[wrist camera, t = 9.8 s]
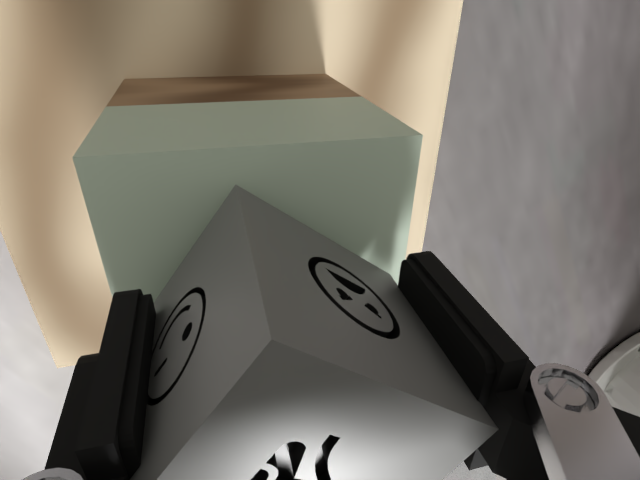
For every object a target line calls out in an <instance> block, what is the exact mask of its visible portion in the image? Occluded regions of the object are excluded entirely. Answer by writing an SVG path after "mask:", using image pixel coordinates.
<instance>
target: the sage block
mask: <svg viewBox="0 0 640 480" xmlns="http://www.w3.org/2000/svg"><path fill="white" fill-rule="evenodd" d="M422 139H423V135H422V134H420V133H419V132H417V131H416V130H414V129H413V128H411V127H409V126H408V125H406V124H405V123H403V122H401V121H400V120H398V119H397V118H395V117H394V116H392V115H390V114H389V113H387V112H386V111H384V110H382V109H381V108H379V107H378V106H376V105H375V104H373V103H371V102H370V101H368V100H367V99H365V98H363V97H362V96H361V97H336V98H311V99H285V100H260V101H234V102H209V103H183V104H158V105H132V106H107V107H105V109H104V110H103V112H102V113H101V115H100V116H99V118H98V119H97V121H96V122H95V124H94V125H93V127H92V128H91V130H90V132H89V133H88V135H87V136H86V138H85V139H84V141H83V142H82V144H81V145H80V147H79V148H78V150H77V151H76V153H75V154H74V156H73V157H72V158H73V162H74V165H75V169H76V172H77V176H78V179H79V183H80V186H81V190H82V193H83V197H84V200H85V204H86V207H87V211H88V214H89V218H90V221H91V225H92V228H93V232H94V235H95V239H96V242H97V246H98V249H99V253H100V256H101V260H102V263H103V267H104V270H105V274H106V277H107V281H108V284H109V288H110V291H111V295H112V298H113V294H114V293H115V292H120V291H128V290H136V289H141V290H142V293H143V295H145V294H151V295H152V298H153V302H154V301H155V300H156V298H157V297H158V296H159V294H160V293H161V291H162V290H163V288H164V287H165V285H166V284H167V283H168V281H169V280H170V278H171V277H172V275H173V274H174V272H175V271H176V270H177V268H178V267H179V265H180V264H181V262H182V261H183V260H184V258H185V257H186V255H187V254H188V252H189V251H190V249H191V248H192V247H193V245H194V244H195V242H196V241H197V239H198V238H199V236H200V235H201V234H202V232H203V231H204V229H205V228H206V226H207V225H208V223H209V222H210V221H211V219H212V218H213V216H214V215H215V213H216V212H217V211H218V209H219V208H220V206H221V205H222V203H223V202H224V200H225V199H226V198H227V196H228V195H229V193H230V192H231V190H232V189H233V187H234V186H235V185H238V186H239V187H241V188H243V189H245V190H246V191H248V192H250V193H251V194H253V195H255V196H257V197H258V198H260V199H262V200H264V201H265V202H267V203H269V204H270V205H272V206H274V207H276V208H277V209H279V210H281V211H282V212H284V213H286V214H288V215H289V216H291V217H293V218H294V219H296V220H298V221H300V222H301V223H303V224H305V225H306V226H308V227H310V228H312V229H313V230H315V231H317V232H318V233H320V234H322V235H324V236H325V237H327V238H329V239H330V240H332V241H334V242H336V243H337V244H339V245H341V246H342V247H344V248H346V249H348V250H349V251H351V252H353V253H354V254H356V255H358V256H360V257H361V258H363V259H365V260H366V261H368V262H370V263H372V264H373V265H375V266H377V267H379V268H380V269H382V270H384V271H385V272H387V273H389V274H390V275H391V276H392V278H393V279H394V281H395V282H396V283H397V285H398V282H399V274H400V267H401V262H402V261H403V260H405V257H406V250H407V243H408V236H409V229H410V222H411V215H412V208H413V201H414V194H415V187H416V180H417V173H418V166H419V159H420V152H421V145H422Z"/></svg>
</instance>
